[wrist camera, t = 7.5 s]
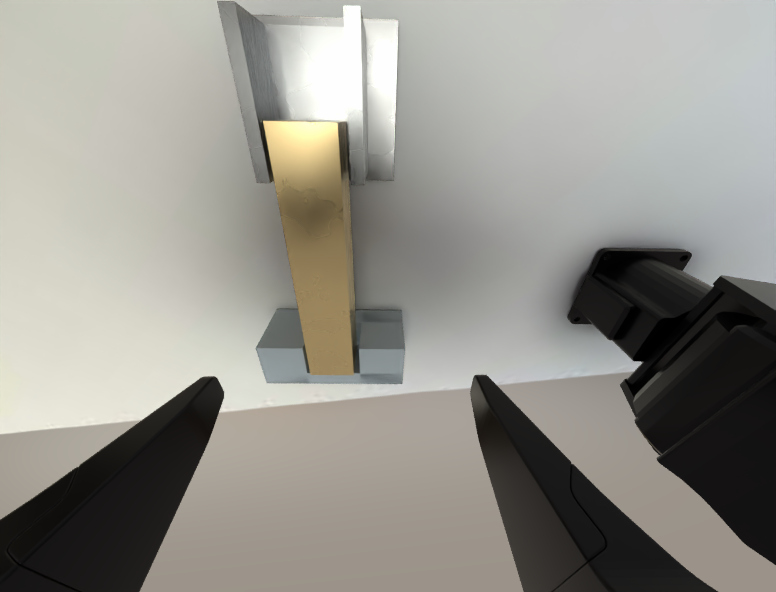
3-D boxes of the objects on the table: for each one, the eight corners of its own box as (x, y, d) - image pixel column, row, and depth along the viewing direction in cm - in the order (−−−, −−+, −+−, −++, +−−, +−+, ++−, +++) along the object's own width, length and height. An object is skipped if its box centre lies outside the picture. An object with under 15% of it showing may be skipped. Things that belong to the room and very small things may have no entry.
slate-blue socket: (401, 310, 23) (404, 349, 19) (399, 342, 25) (402, 383, 21) (277, 309, 22) (255, 348, 19) (284, 341, 24) (266, 383, 21)
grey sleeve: (397, 23, 13) (403, -13, 10) (393, 178, 17) (395, 196, 13) (229, 17, 13) (167, -22, 9) (262, 175, 17) (227, 193, 13)
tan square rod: (345, 121, 14) (337, 122, 11) (357, 345, 22) (353, 375, 19) (285, 119, 14) (263, 120, 11) (318, 345, 22) (310, 375, 19)
